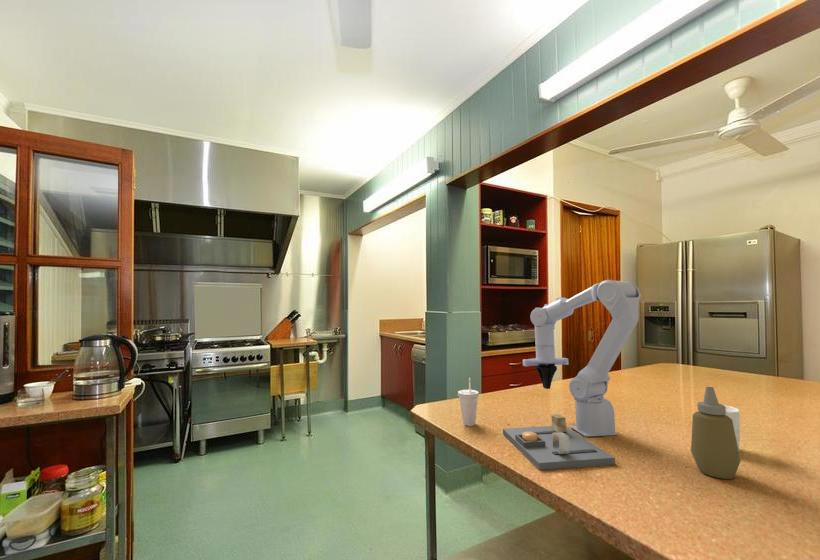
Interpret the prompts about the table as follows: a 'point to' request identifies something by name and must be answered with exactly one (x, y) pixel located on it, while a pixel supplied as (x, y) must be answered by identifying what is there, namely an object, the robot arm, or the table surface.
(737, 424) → the white cup
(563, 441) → the metal slider
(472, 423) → the smoothie
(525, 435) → the orange button
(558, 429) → the birch slider
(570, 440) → the control board
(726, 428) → the squeeze bottle
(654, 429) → the table surface
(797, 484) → the table surface
